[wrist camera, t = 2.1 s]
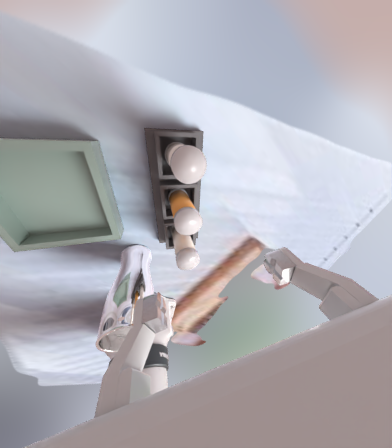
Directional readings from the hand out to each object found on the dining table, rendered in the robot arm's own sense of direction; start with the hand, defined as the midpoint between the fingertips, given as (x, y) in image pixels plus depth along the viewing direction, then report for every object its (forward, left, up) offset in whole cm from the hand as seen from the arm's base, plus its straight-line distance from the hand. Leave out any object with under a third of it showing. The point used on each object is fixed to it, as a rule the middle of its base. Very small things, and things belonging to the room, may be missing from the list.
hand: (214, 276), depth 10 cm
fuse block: (0, 0, -18) cm, 18 cm away
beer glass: (-13, +9, -18) cm, 24 cm away
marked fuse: (0, 0, -17) cm, 17 cm away
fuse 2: (-7, 0, -17) cm, 18 cm away
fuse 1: (+6, 0, -17) cm, 18 cm away
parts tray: (+1, +17, -18) cm, 25 cm away
